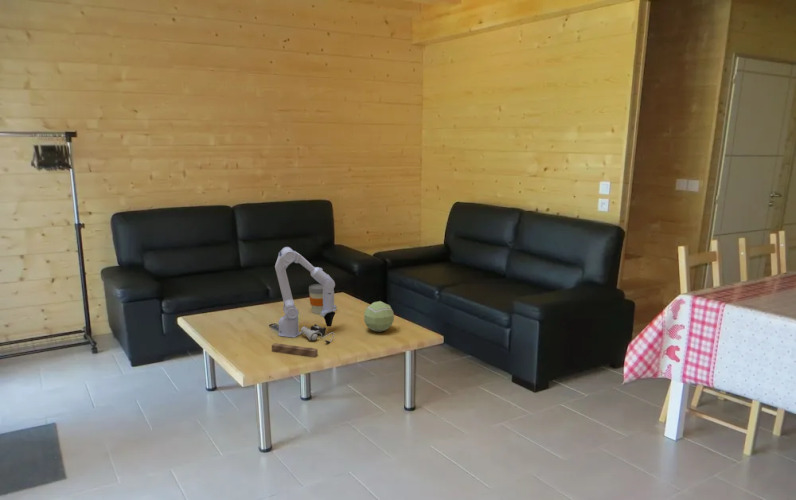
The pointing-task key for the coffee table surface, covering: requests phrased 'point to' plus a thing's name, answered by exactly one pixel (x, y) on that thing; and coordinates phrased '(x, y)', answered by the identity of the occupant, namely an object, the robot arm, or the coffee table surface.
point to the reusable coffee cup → (316, 298)
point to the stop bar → (294, 350)
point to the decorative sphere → (378, 316)
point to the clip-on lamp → (315, 332)
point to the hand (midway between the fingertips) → (329, 326)
